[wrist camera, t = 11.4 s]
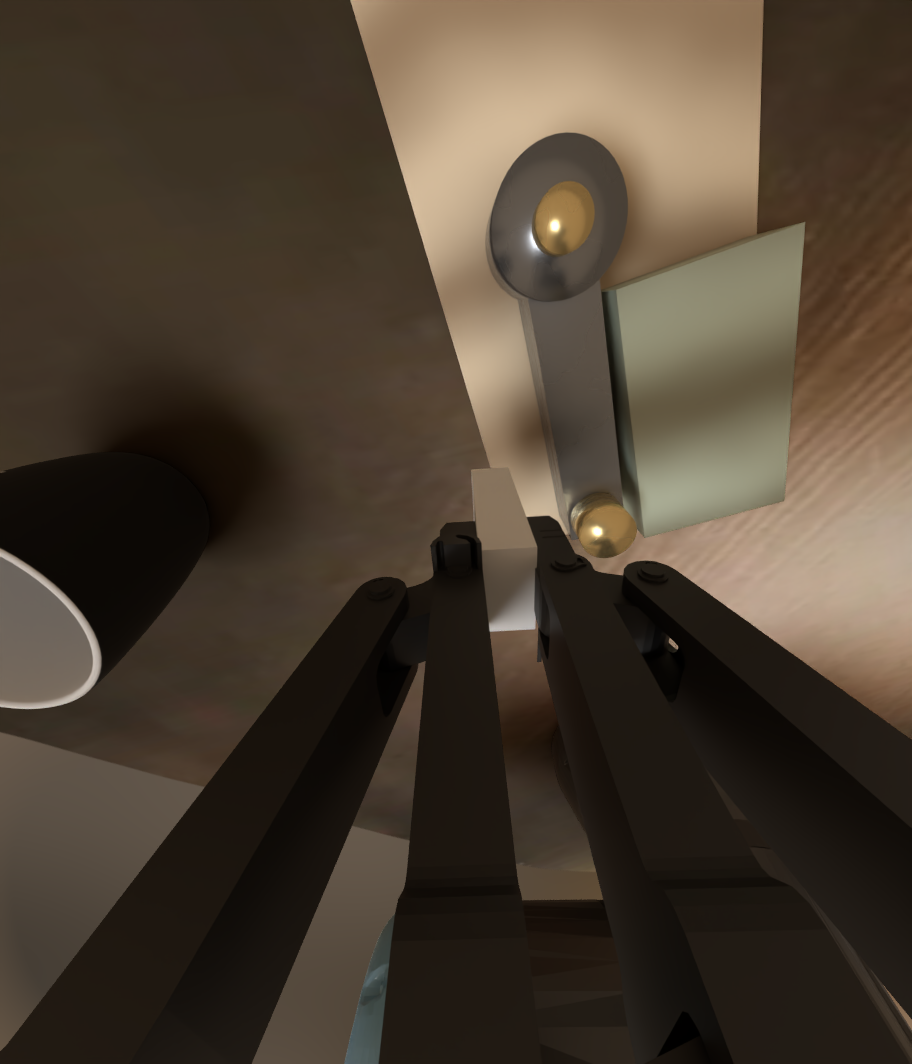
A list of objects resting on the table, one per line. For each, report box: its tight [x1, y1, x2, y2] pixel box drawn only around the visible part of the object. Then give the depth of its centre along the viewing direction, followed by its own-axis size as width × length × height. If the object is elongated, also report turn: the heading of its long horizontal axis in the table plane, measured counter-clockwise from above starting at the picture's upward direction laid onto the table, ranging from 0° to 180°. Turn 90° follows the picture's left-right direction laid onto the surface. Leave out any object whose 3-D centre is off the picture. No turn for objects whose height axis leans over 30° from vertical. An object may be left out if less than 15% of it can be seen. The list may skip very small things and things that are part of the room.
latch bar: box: [485, 132, 637, 558], centre depth 17 cm, size 15×4×5 cm, turn 17°
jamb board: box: [351, 0, 805, 538], centre depth 16 cm, size 25×13×4 cm, turn 18°
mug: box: [0, 452, 210, 709], centre depth 19 cm, size 12×9×10 cm
